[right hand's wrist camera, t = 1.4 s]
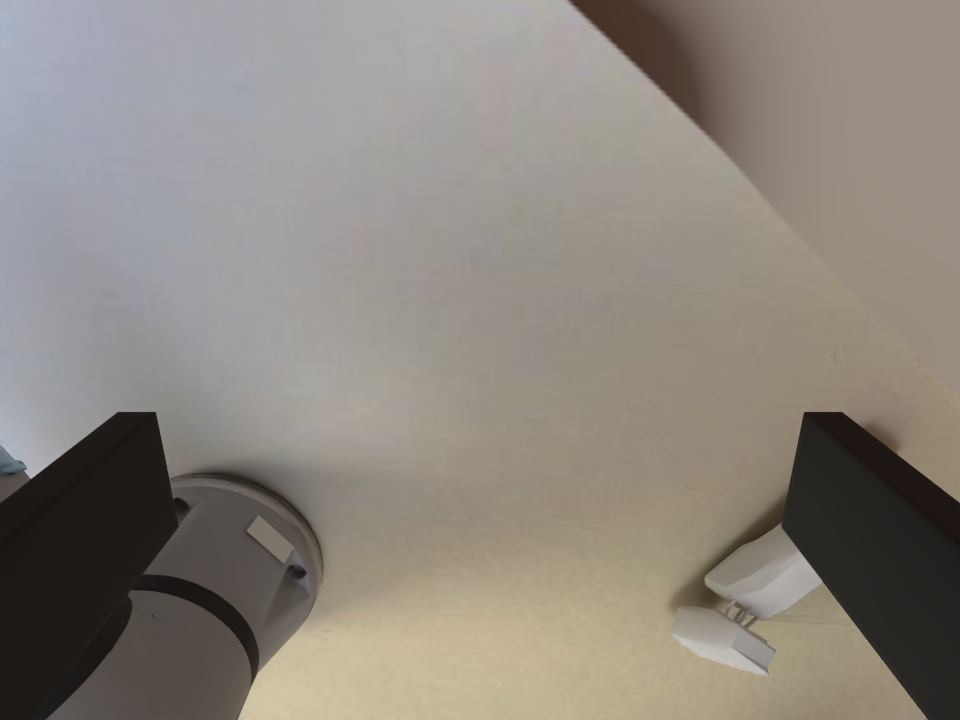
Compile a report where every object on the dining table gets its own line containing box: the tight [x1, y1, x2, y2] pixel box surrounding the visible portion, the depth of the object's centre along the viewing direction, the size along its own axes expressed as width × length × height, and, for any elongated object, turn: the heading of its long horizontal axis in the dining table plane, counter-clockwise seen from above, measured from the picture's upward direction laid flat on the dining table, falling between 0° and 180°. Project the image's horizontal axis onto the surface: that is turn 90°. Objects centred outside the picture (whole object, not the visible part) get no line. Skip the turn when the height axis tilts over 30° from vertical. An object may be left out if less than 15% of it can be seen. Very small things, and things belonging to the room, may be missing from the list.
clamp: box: [670, 523, 823, 676], centre depth 43 cm, size 20×4×7 cm, turn 143°
